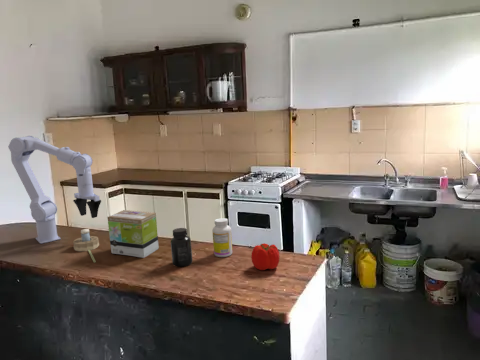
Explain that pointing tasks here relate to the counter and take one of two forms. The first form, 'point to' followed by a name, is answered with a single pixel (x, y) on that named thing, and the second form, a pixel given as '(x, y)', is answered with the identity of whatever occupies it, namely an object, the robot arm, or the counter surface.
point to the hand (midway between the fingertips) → (88, 216)
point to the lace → (91, 256)
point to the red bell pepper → (265, 256)
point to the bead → (86, 244)
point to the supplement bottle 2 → (222, 238)
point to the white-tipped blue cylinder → (85, 235)
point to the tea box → (133, 233)
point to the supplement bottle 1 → (181, 248)
